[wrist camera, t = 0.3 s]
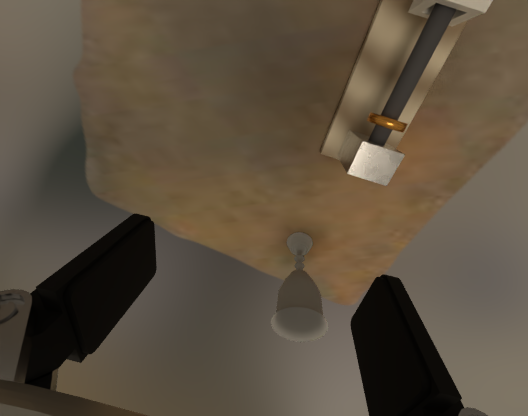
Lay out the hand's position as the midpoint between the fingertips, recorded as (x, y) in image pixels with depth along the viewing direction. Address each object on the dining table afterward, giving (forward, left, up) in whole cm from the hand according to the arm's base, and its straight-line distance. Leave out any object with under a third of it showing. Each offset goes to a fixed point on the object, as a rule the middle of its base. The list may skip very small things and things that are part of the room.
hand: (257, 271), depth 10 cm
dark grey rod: (-12, +10, -24) cm, 29 cm away
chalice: (+19, +8, -31) cm, 37 cm away
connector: (-3, +10, -29) cm, 31 cm away
